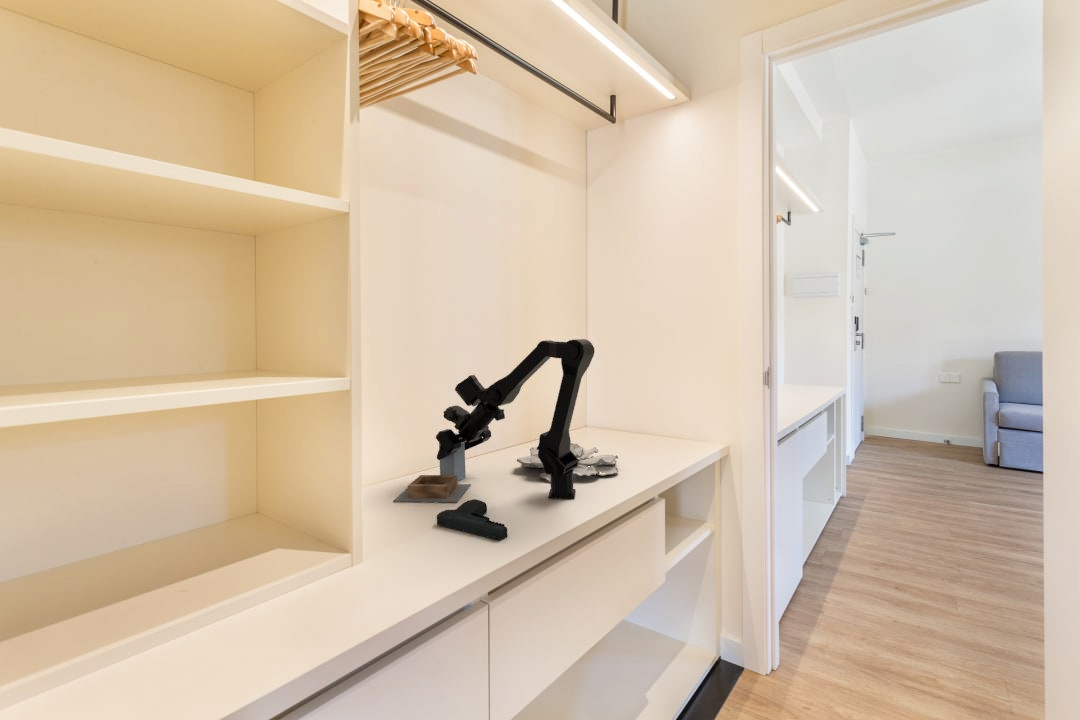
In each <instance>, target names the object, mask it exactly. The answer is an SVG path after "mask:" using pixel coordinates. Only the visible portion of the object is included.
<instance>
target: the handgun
mask: <svg viewBox="0 0 1080 720" xmlns="http://www.w3.org/2000/svg"><path fill="white" fill-rule="evenodd" d="M487 512H488V505H487V503H486V502H485V501H483V500H480V499H475V498H474V499H473V498H472V499H469V500H466V501H465V502H463V503H461V504H460V505H459V506H457V508H455V509H445V510H442V511H440V512H439V513H437V516H436V524H437V526H439V527H443V528H447V529H452V530H455V529H456V530H455V531H459V530H460V532H466V533H470V534H473V535H475V536H479V537H484V538H487V539H491V540H494V541H495V540H496V541H498V542H502V541H503V540H505V539H507V538H508V527H507V526H506V524H505V523H501V522H497V521H496V522H495V521H492V520H491V518H490V517H489V516H486V515H485V514H487Z"/></svg>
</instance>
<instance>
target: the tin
mask: <svg viewBox="0 0 1080 720" xmlns="http://www.w3.org/2000/svg"><path fill="white" fill-rule="evenodd" d="M454 433H455V435H458V434H459V433H456V432H454ZM438 447H439V448H440V443H439V442H438ZM439 448H438V449H439ZM439 475H457V479H458V482H460V481H463V480H465V479H466V476H467V475H466V450H465V442H463V443H461V448H460V449H459V450H457V452H456V453H453V454H451V455H449V456H447V457H445V458H443V459H441V460H439Z"/></svg>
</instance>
